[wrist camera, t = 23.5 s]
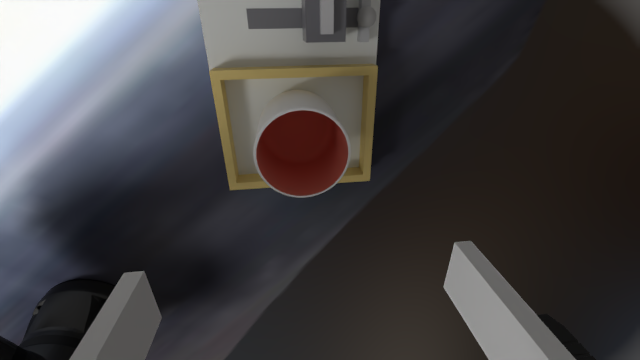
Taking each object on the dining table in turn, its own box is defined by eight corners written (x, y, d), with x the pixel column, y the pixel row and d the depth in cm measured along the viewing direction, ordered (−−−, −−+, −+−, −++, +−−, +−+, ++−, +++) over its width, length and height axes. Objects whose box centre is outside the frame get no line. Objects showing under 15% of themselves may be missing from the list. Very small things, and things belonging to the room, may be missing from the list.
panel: (231, 178, 44) (226, 193, 40) (182, -115, 29) (166, -137, 25) (364, 169, 46) (373, 183, 42) (382, -109, 31) (397, -128, 27)
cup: (244, 134, 39) (233, 166, 30) (289, 70, 36) (292, 85, 27) (304, 174, 43) (311, 213, 34) (350, 119, 40) (370, 146, 31)
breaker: (302, 40, 34) (307, 43, 29) (301, -6, 32) (305, -12, 27) (337, 39, 35) (347, 42, 30) (337, -6, 33) (348, -12, 28)
